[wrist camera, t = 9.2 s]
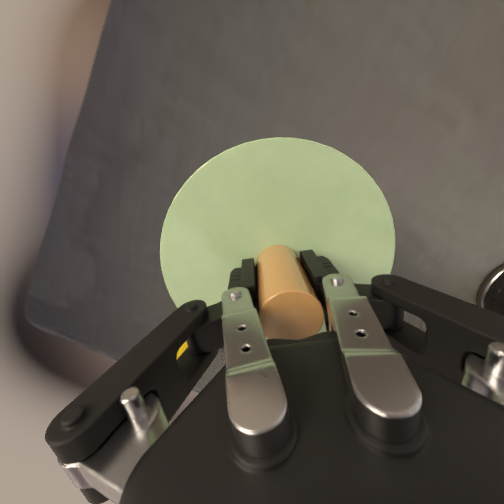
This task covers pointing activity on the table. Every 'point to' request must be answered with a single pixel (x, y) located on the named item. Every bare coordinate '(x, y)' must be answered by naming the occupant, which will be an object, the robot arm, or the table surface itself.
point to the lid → (275, 228)
